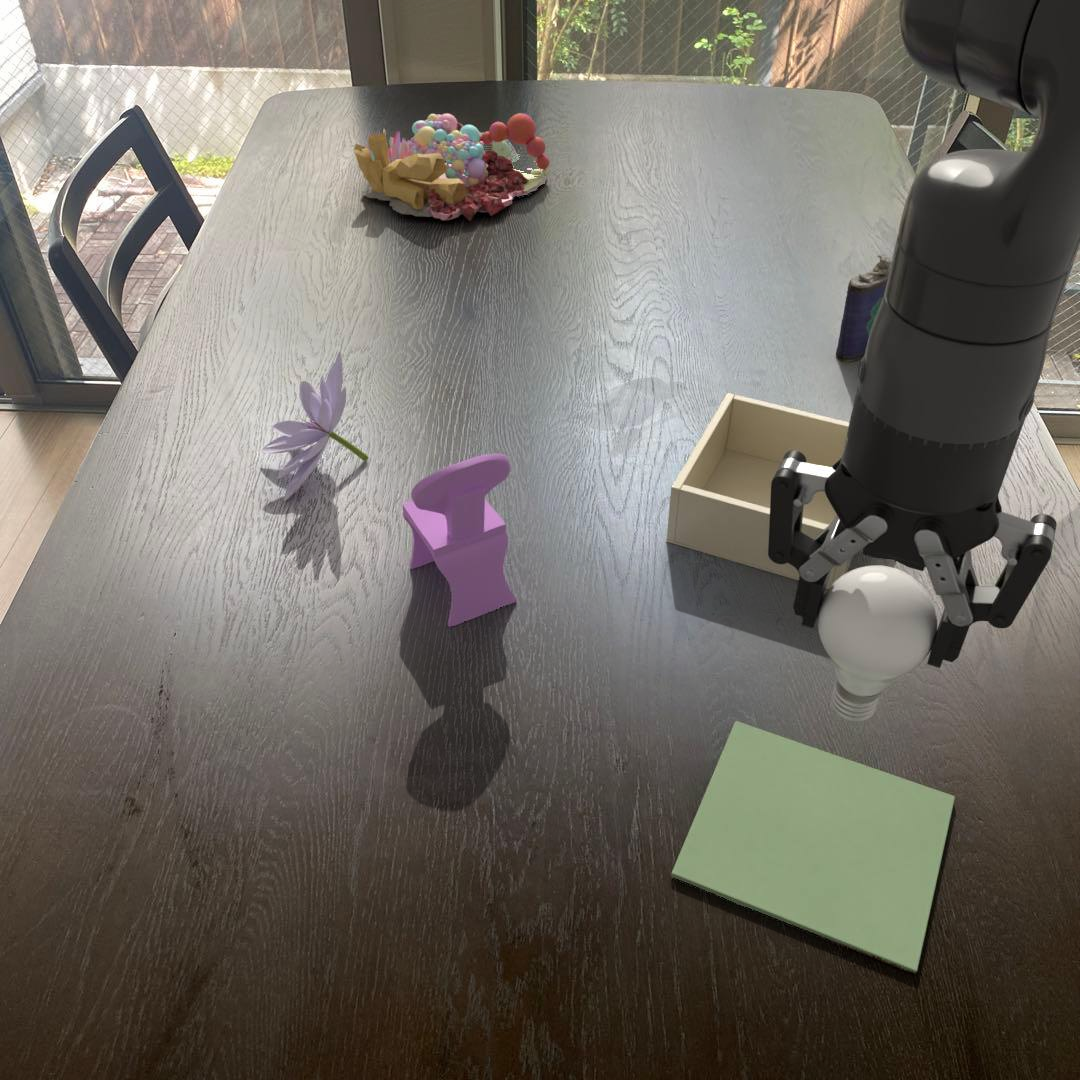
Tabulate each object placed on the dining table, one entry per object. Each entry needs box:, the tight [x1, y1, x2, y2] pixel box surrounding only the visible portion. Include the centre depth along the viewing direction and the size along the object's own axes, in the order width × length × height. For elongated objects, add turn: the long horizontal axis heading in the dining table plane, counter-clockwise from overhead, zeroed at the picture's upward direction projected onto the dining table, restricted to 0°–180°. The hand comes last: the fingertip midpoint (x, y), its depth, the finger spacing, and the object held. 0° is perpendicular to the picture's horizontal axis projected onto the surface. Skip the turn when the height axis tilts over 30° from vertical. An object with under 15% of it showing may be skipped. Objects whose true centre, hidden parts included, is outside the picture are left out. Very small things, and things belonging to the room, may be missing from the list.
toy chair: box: [401, 453, 518, 628], centre depth 88 cm, size 8×9×15 cm
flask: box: [835, 253, 893, 363], centre depth 117 cm, size 9×3×11 cm, turn 133°
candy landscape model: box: [352, 112, 550, 222], centre depth 149 cm, size 25×24×9 cm
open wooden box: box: [665, 392, 854, 590], centre depth 97 cm, size 16×16×6 cm
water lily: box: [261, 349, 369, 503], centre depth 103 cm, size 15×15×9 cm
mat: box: [670, 720, 956, 972], centre depth 74 cm, size 16×14×1 cm
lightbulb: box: [817, 564, 938, 723], centre depth 62 cm, size 6×6×11 cm
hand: (872, 635), depth 61 cm, fingers closed on lightbulb, 6 cm apart
